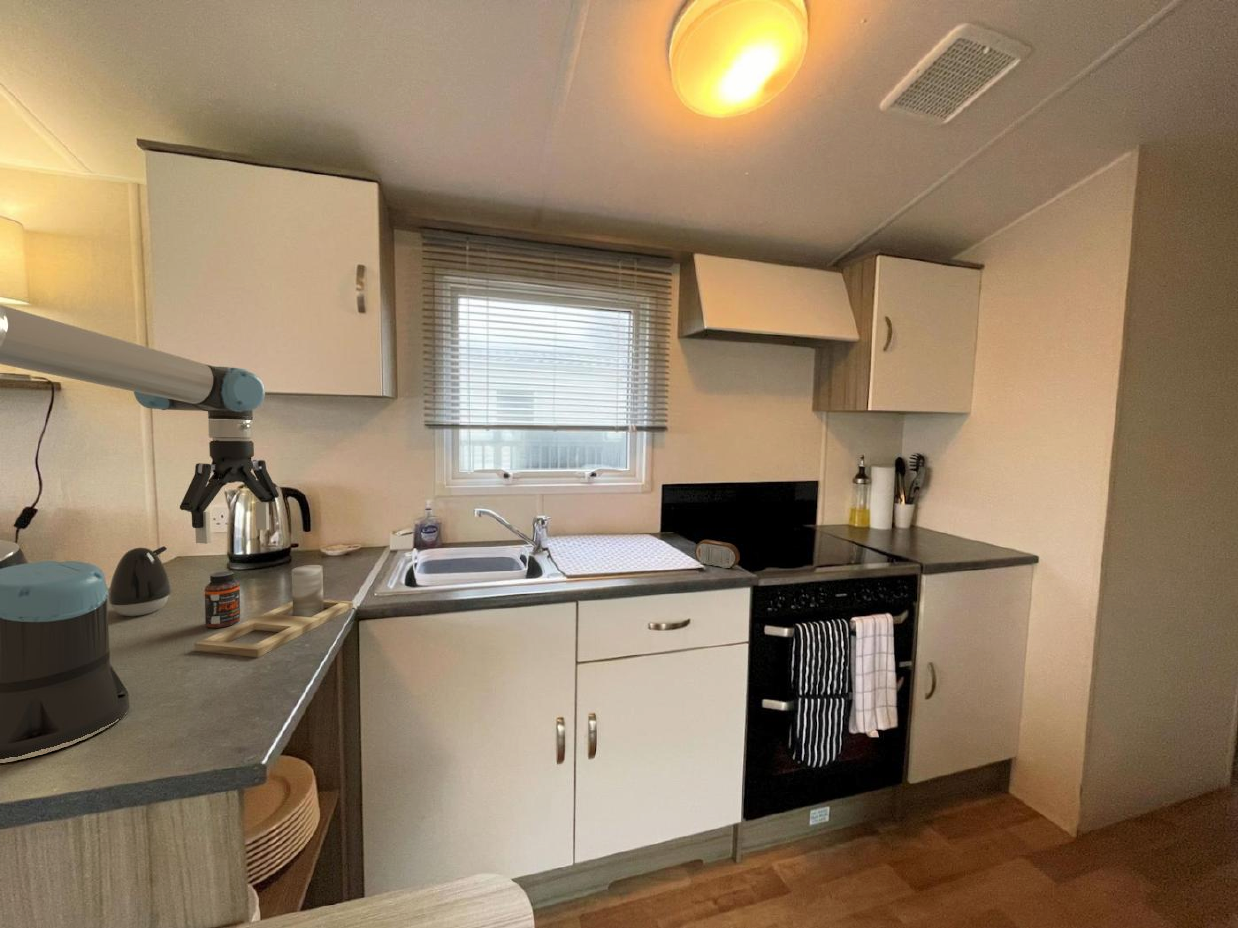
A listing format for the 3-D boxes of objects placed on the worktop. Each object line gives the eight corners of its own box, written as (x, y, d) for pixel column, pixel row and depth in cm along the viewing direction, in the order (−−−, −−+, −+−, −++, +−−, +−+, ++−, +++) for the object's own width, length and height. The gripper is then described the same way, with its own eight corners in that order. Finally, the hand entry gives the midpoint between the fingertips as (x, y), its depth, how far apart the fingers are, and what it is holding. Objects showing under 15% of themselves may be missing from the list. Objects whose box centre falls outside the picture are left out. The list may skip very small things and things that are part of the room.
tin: (739, 569, 157) (740, 544, 157) (736, 571, 154) (737, 545, 154) (696, 561, 165) (697, 537, 165) (693, 563, 162) (694, 539, 162)
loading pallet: (258, 657, 91) (256, 600, 90) (195, 650, 93) (192, 595, 92) (353, 607, 117) (352, 563, 116) (302, 603, 119) (301, 559, 118)
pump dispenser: (183, 606, 115) (180, 544, 114) (129, 623, 105) (125, 555, 104) (153, 601, 118) (150, 540, 117) (98, 617, 108) (94, 551, 107)
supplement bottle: (220, 630, 102) (218, 578, 102) (198, 627, 104) (196, 576, 103) (247, 619, 108) (245, 570, 107) (226, 617, 109) (224, 568, 109)
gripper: (184, 441, 91) (189, 550, 93) (295, 439, 116) (297, 525, 117) (152, 440, 92) (157, 548, 94) (268, 438, 117) (271, 524, 118)
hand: (235, 536), depth 105 cm, fingers open, 13 cm apart
